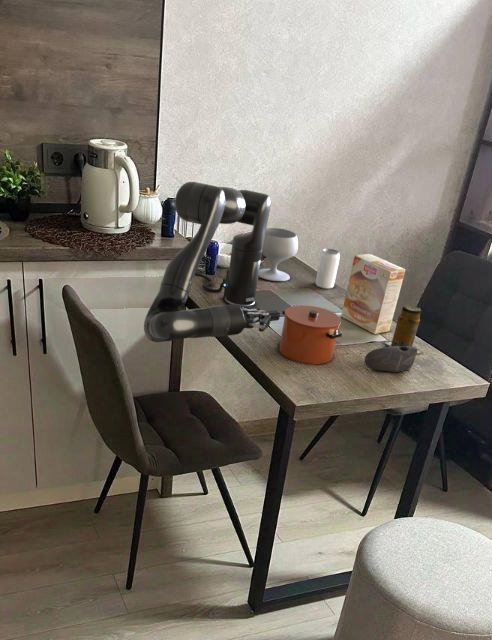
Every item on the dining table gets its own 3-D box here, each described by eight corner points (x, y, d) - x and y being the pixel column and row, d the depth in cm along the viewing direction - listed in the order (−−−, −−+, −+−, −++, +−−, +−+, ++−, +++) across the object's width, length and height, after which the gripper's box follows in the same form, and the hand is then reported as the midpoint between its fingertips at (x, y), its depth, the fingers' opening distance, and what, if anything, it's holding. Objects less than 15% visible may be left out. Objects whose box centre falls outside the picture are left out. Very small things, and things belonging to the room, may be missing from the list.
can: (334, 289, 249) (341, 255, 242) (316, 287, 249) (322, 252, 242) (332, 283, 254) (339, 249, 248) (314, 281, 254) (320, 247, 247)
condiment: (403, 341, 217) (414, 302, 210) (421, 353, 211) (433, 314, 204) (384, 343, 214) (394, 304, 207) (401, 355, 208) (413, 315, 201)
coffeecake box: (340, 316, 228) (353, 254, 217) (355, 313, 232) (370, 252, 221) (374, 334, 218) (390, 271, 208) (390, 331, 222) (406, 268, 211)
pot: (262, 344, 202) (269, 303, 196) (300, 335, 211) (308, 296, 205) (311, 371, 191) (319, 329, 184) (349, 360, 200) (358, 319, 193)
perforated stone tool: (364, 373, 194) (371, 349, 190) (359, 364, 198) (364, 341, 194) (417, 375, 197) (424, 352, 193) (410, 367, 201) (417, 344, 197)
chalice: (264, 283, 246) (271, 239, 237) (246, 270, 256) (252, 226, 248) (299, 282, 251) (307, 239, 243) (280, 269, 261) (287, 226, 253)
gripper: (237, 316, 174) (295, 310, 182) (210, 297, 183) (266, 292, 191) (233, 345, 178) (290, 338, 186) (206, 325, 187) (262, 319, 195)
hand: (278, 315), depth 189 cm, fingers closed
